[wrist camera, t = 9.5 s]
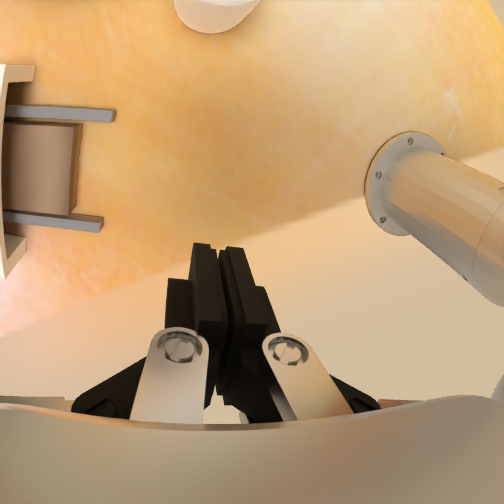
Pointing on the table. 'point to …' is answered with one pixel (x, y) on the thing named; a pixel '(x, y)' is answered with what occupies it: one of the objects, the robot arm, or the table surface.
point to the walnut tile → (40, 166)
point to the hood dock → (3, 246)
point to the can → (213, 13)
